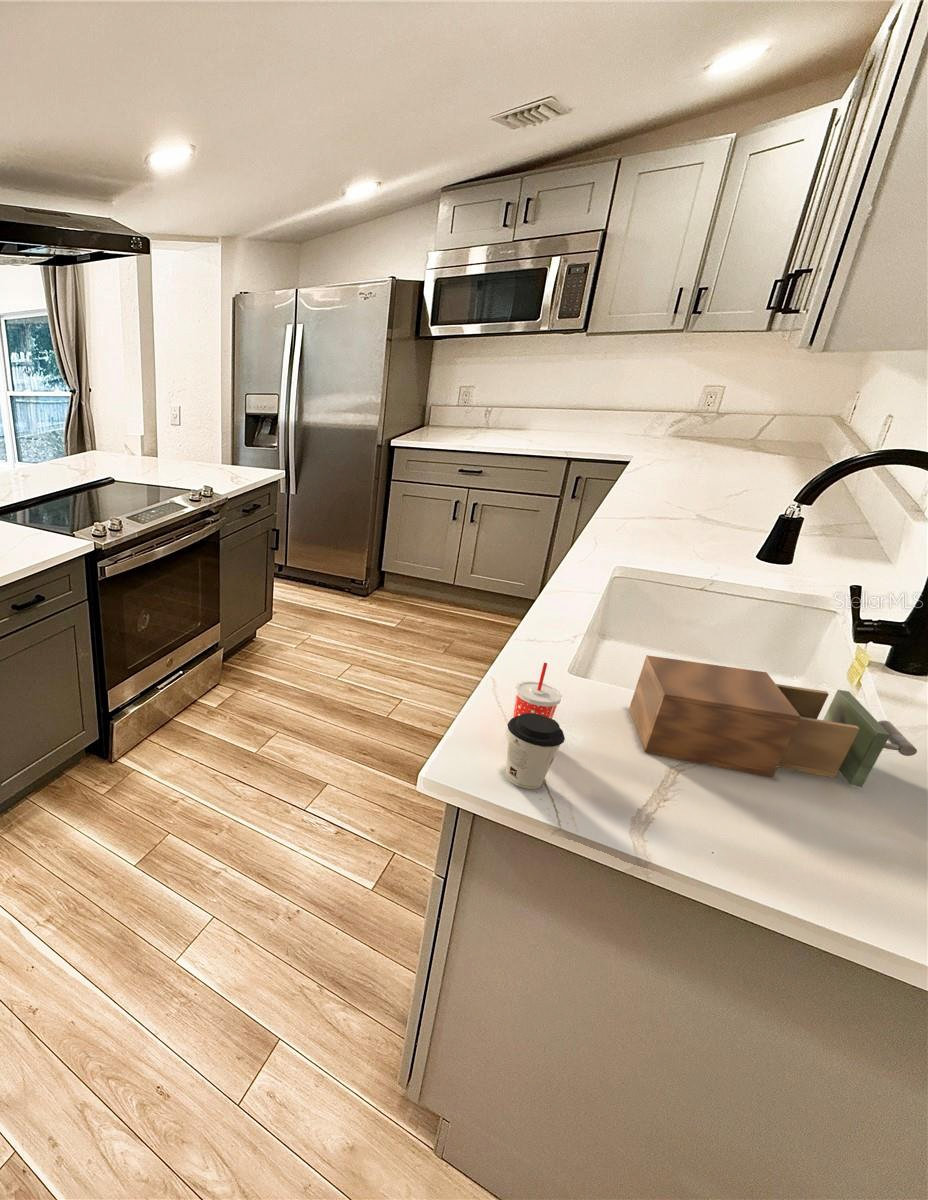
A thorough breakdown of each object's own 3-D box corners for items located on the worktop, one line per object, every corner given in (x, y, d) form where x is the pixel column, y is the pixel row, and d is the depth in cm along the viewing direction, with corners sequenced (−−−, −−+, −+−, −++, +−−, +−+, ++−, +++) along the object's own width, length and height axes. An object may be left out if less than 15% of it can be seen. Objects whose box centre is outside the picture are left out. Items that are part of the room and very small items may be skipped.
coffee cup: (503, 791, 88) (517, 734, 84) (491, 760, 95) (503, 706, 91) (558, 797, 87) (575, 740, 83) (542, 766, 93) (557, 711, 89)
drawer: (866, 747, 91) (892, 697, 87) (908, 796, 82) (940, 743, 78) (708, 720, 99) (727, 673, 95) (731, 762, 90) (752, 712, 86)
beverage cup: (526, 723, 102) (544, 650, 97) (558, 745, 97) (580, 669, 91) (496, 731, 101) (512, 657, 95) (527, 753, 95) (547, 677, 90)
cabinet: (742, 729, 98) (766, 672, 93) (772, 777, 88) (800, 716, 83) (628, 709, 104) (646, 655, 100) (644, 752, 94) (664, 694, 90)
